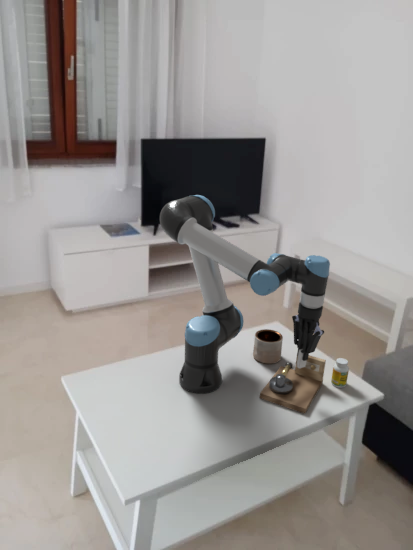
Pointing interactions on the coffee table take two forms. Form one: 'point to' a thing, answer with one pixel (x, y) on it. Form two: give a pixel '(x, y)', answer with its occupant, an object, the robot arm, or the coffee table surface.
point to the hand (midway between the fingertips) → (300, 366)
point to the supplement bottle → (340, 373)
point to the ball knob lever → (282, 381)
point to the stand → (299, 385)
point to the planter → (267, 346)
